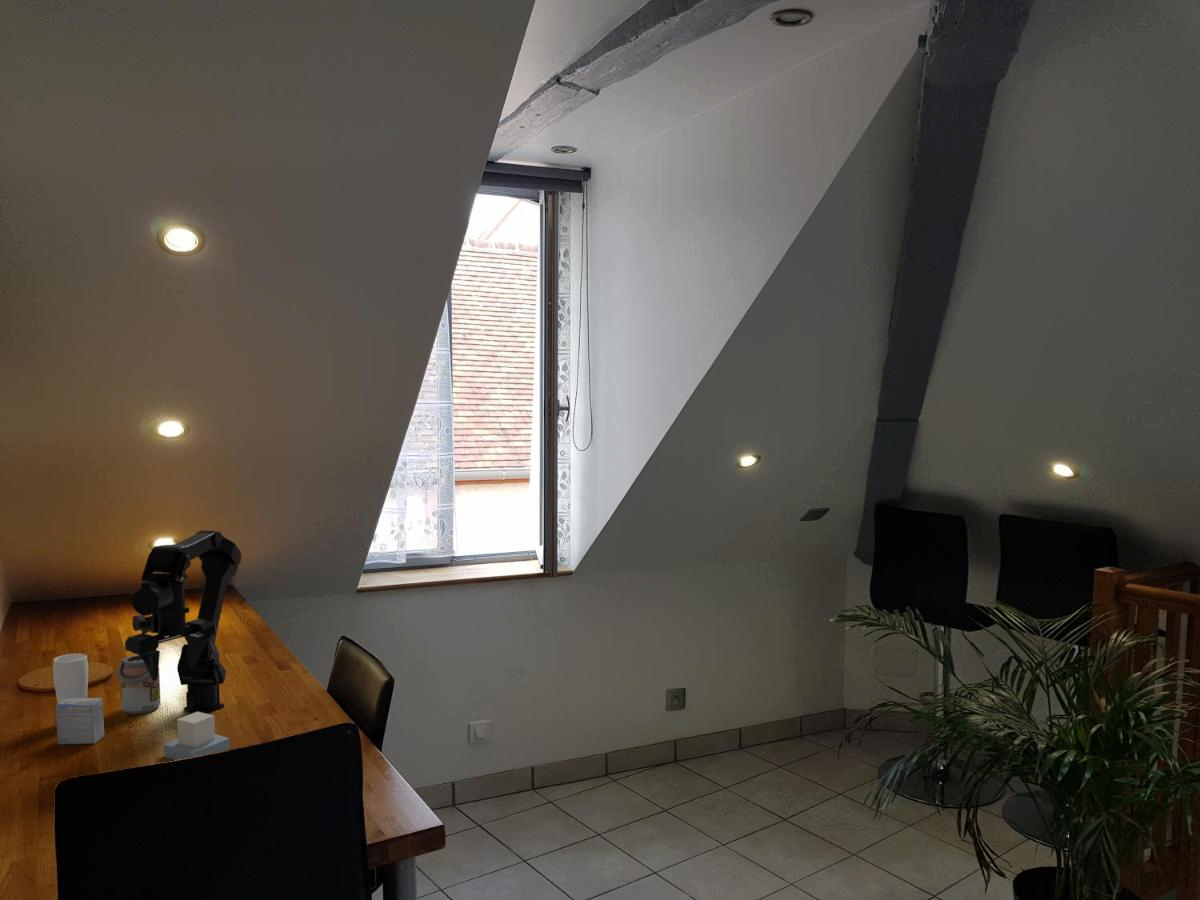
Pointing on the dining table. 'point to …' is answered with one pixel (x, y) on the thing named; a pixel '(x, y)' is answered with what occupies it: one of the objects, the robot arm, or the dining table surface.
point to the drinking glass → (70, 676)
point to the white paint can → (138, 686)
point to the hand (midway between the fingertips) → (173, 674)
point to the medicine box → (80, 721)
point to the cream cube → (196, 729)
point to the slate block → (195, 748)
